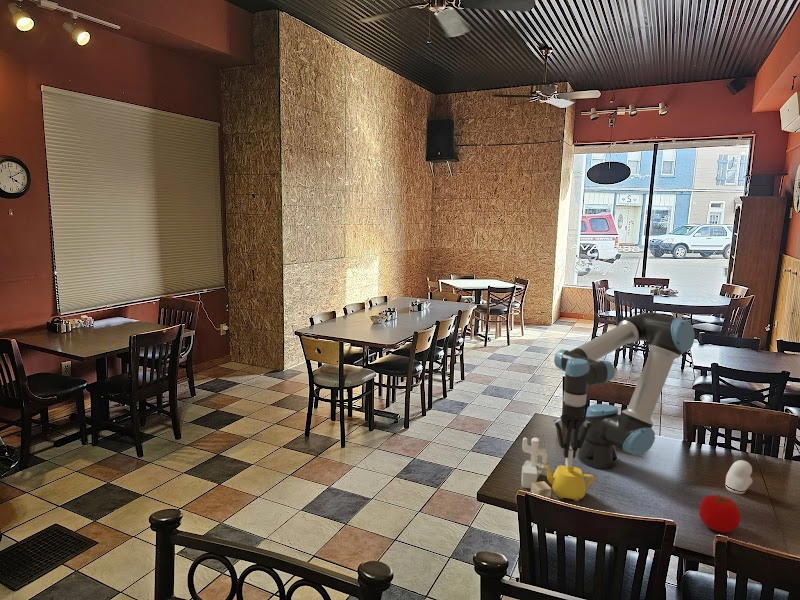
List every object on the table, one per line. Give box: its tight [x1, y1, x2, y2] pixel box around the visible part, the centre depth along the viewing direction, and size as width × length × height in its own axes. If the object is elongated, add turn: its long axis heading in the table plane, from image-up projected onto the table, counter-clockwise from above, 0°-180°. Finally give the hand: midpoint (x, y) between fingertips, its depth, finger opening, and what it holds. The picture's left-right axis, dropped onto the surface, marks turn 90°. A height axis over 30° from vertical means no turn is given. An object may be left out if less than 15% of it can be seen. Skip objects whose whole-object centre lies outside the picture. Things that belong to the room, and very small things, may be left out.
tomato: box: [699, 494, 741, 534], centre depth 171 cm, size 11×12×10 cm
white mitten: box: [725, 459, 753, 495], centre depth 194 cm, size 7×8×12 cm
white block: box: [520, 465, 538, 489], centre depth 195 cm, size 5×5×6 cm
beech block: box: [530, 480, 552, 498], centre depth 186 cm, size 5×5×5 cm
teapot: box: [543, 464, 595, 502], centre depth 189 cm, size 18×11×11 cm, turn 75°
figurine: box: [521, 436, 548, 480], centre depth 201 cm, size 7×9×15 cm
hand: (568, 465), depth 188 cm, fingers closed
